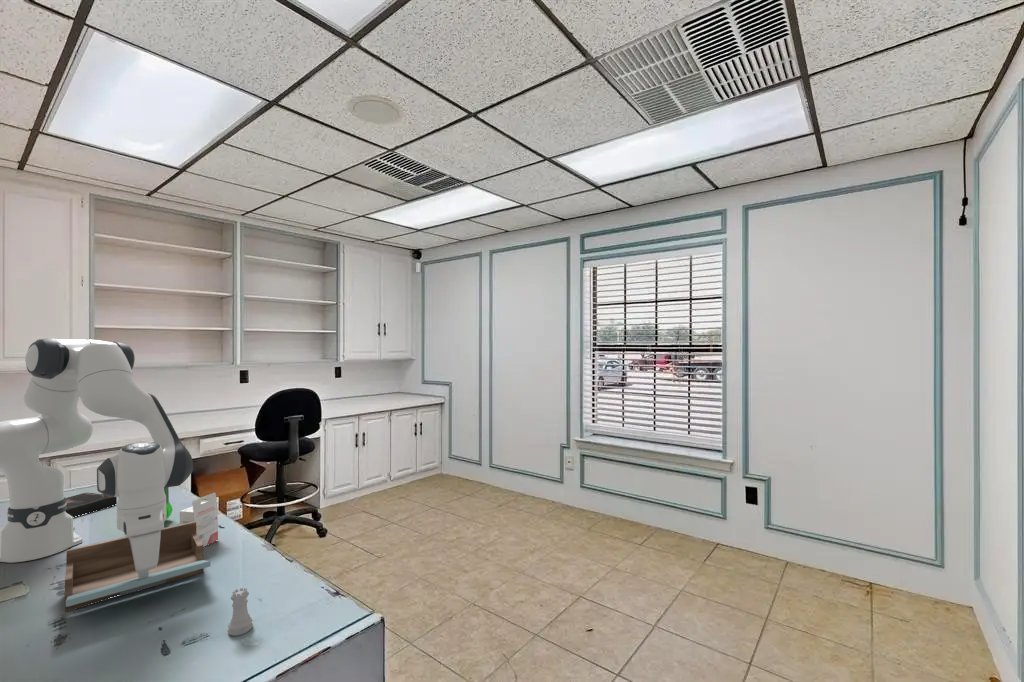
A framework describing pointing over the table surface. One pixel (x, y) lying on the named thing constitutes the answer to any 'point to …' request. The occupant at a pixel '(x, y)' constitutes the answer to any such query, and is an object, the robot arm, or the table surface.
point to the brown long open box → (127, 561)
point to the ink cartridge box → (203, 518)
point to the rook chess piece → (240, 614)
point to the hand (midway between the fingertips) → (143, 576)
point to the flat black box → (88, 503)
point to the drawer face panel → (136, 583)
